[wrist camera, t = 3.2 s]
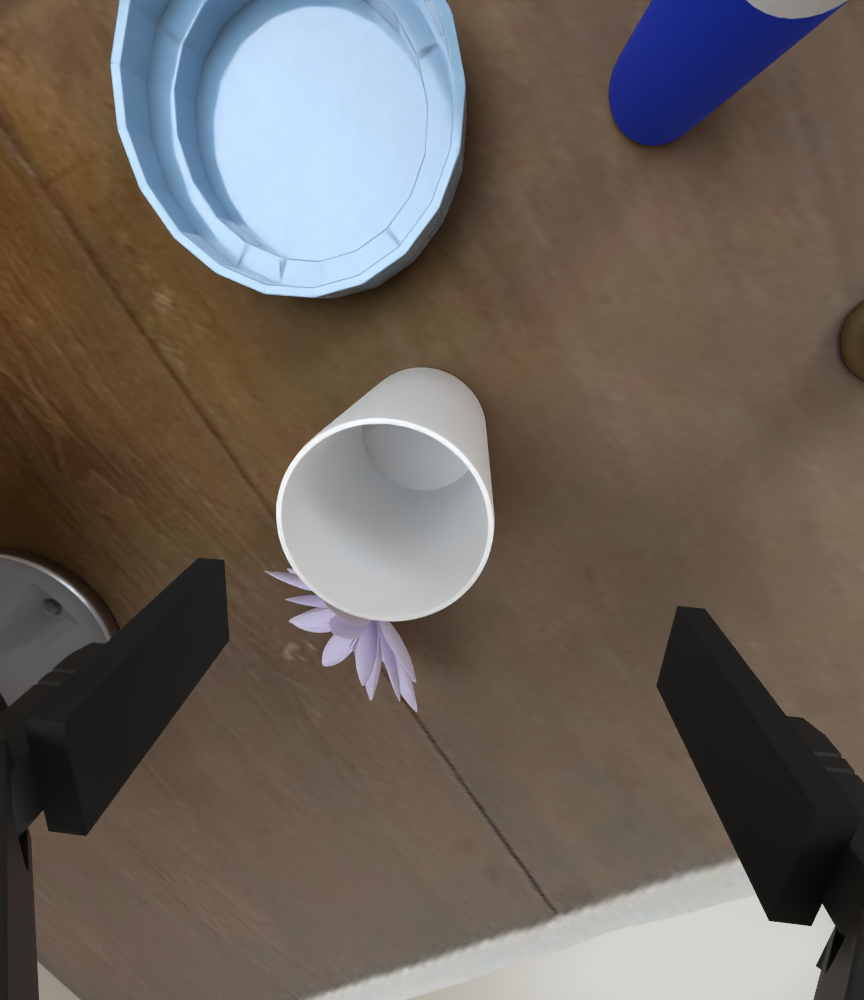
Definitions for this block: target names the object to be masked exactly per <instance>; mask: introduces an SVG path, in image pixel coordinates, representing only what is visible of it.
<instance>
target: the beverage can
mask: <svg viewBox="0 0 864 1000" xmlns="http://www.w3.org/2000/svg"><path fill="white" fill-rule="evenodd" d="M847 1H848V0H652V1H651V3H650V4H649V6H648V8H647V9H646V11H645V13H644V15H643V16H642V18H641V20H640V22H639V23H638V25H637V27H636V29H635V30H634V32H633V34H632V35H631V37H630V39H629V41H628V42H627V44H626V46H625V48H624V49H623V51H622V53H621V54H620V56H619V58H618V60H617V62H616V64H615V66H614V69H613V72H612V75H611V80H610V86H609V102H610V108H611V112H612V115H613V118H614V120H615V122H616V124H617V125H618V127H619V128H620V130H621V131H622V132H623V133H624V134H625V135H626V136H627V137H629V138H630V139H632V140H634V141H635V142H637V143H641V144H644V145H652V146H653V145H662V144H666V143H670V142H672V141H674V140H677V139H678V138H680V137H681V136H683V135H685V134H686V133H687V132H688V131H689V130H691V129H692V128H693V127H694V126H696V125H697V124H698V123H699V122H700V121H702V120H703V119H704V118H705V117H707V116H708V115H709V114H710V113H711V112H713V111H714V110H715V109H716V108H718V107H719V106H720V105H721V104H722V103H724V102H725V101H726V100H727V99H729V98H730V97H731V96H732V95H733V94H735V93H736V92H737V91H738V90H740V89H741V88H742V87H743V86H744V85H746V84H747V83H748V82H749V81H751V80H752V79H753V78H754V77H755V76H757V75H758V74H759V73H760V72H762V71H763V70H764V69H765V68H766V67H768V66H769V65H770V64H771V63H773V62H774V61H775V60H776V59H778V58H779V57H780V56H781V55H782V54H784V53H785V52H786V51H787V50H789V49H790V48H791V47H792V46H793V45H795V44H796V43H797V42H798V41H800V40H801V39H802V38H803V37H804V36H806V35H807V34H808V33H809V32H811V31H812V30H813V29H814V28H815V27H817V26H818V25H819V24H820V23H822V22H823V21H824V20H825V19H826V18H828V17H829V16H830V15H831V14H833V13H834V12H835V11H836V10H837V9H839V8H840V7H841V6H842V5H844V4H845V3H846V2H847Z"/></svg>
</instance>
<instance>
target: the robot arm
mask: <svg viewBox="0 0 864 1000" xmlns="http://www.w3.org/2000/svg"><path fill="white" fill-rule="evenodd" d="M228 641H229V628H228V613H227V597H226V581H225V566H224V560H217V559H207V558H198V559H197V560H196V561H195V562H193V563H192V564H191V565H190V566H189V567H188V568H187V569H186V570H185V571H184V572H183V573H181V574H180V575H179V576H178V577H177V578H176V579H175V580H174V581H173V582H172V583H171V584H170V585H168V586H167V587H166V588H165V589H164V590H163V591H162V592H161V593H160V594H159V595H158V596H156V597H155V598H154V599H153V600H152V601H151V602H150V603H149V604H148V605H147V606H146V607H145V608H143V609H142V610H141V611H140V612H139V613H138V614H137V615H136V616H135V617H134V618H133V619H131V620H130V621H129V622H128V623H127V624H126V625H125V626H124V627H123V628H122V629H121V630H119V631H118V629H117V627H116V624H115V622H114V620H113V618H112V616H111V614H110V613H109V611H108V609H107V608H106V606H105V605H104V604H103V602H102V601H101V600H100V598H99V597H98V596H97V595H96V594H95V593H94V592H93V590H92V589H91V588H90V587H88V586H87V585H86V584H85V583H84V582H83V581H82V580H81V579H79V578H78V577H77V576H76V575H74V574H73V573H71V572H70V571H69V570H67V569H65V568H64V567H62V566H60V565H59V564H57V563H55V562H53V561H51V560H49V559H46V558H44V557H41V556H39V555H36V554H33V553H30V552H26V551H21V550H16V549H7V548H0V1000H39V992H38V971H37V951H36V930H35V910H34V890H33V869H32V849H31V837H30V833H29V829H28V827H29V826H30V824H31V823H32V822H33V821H34V820H35V819H36V817H37V816H38V815H39V814H40V813H41V812H42V810H43V809H44V813H45V818H46V822H47V826H48V831H51V832H59V833H67V834H76V835H84V836H87V834H88V833H89V831H90V830H91V829H92V827H93V826H94V825H95V823H96V822H97V820H98V819H99V818H100V816H101V815H102V814H103V812H104V811H105V810H106V808H107V807H108V805H109V804H110V803H111V801H112V800H113V799H114V797H115V796H116V794H117V793H118V792H119V790H120V789H121V788H122V786H123V785H124V783H125V782H126V781H127V779H128V778H129V777H130V775H131V774H132V772H133V771H134V770H135V768H136V767H137V766H138V764H139V763H140V762H141V760H142V759H143V757H144V756H145V755H146V753H147V752H148V751H149V749H150V748H151V746H152V745H153V744H154V742H155V741H156V740H157V738H158V737H159V735H160V734H161V733H162V731H163V730H164V729H165V727H166V726H167V725H168V723H169V722H170V720H171V719H172V718H173V716H174V715H175V714H176V712H177V711H178V709H179V708H180V707H181V705H182V704H183V703H184V701H185V700H186V698H187V697H188V696H189V694H190V693H191V692H192V690H193V689H194V688H195V686H196V685H197V683H198V682H199V681H200V679H201V678H202V677H203V675H204V674H205V672H206V671H207V670H208V668H209V667H210V666H211V664H212V663H213V661H214V660H215V659H216V657H217V656H218V655H219V653H220V652H221V651H222V649H223V648H224V646H225V645H226V644H227V642H228ZM656 686H657V688H658V690H659V692H660V694H661V696H662V698H663V701H664V703H665V705H666V707H667V709H668V711H669V713H670V715H671V717H672V719H673V721H674V723H675V726H676V728H677V730H678V732H679V734H680V736H681V738H682V740H683V742H684V744H685V746H686V748H687V751H688V753H689V755H690V757H691V759H692V761H693V763H694V765H695V767H696V769H697V771H698V773H699V776H700V778H701V780H702V782H703V784H704V786H705V788H706V790H707V792H708V794H709V796H710V799H711V801H712V803H713V805H714V807H715V809H716V811H717V813H718V815H719V817H720V819H721V821H722V824H723V826H724V828H725V830H726V832H727V834H728V836H729V838H730V840H731V842H732V844H733V846H734V849H735V851H736V853H737V855H738V857H739V859H740V861H741V863H742V865H743V867H744V869H745V871H746V874H747V876H748V878H749V880H750V882H751V884H752V886H753V888H754V890H755V892H756V894H757V897H758V898H759V901H760V903H761V905H762V907H763V909H764V911H765V913H766V915H767V917H768V919H769V921H775V922H783V923H791V924H799V925H807V926H812V924H813V921H814V919H815V917H816V915H817V913H818V911H819V909H820V907H821V904H823V905H824V907H825V909H826V910H827V912H828V914H829V916H830V917H831V919H832V921H833V922H834V924H835V928H834V930H833V932H832V934H831V936H830V938H829V940H828V942H827V945H826V946H825V948H824V950H823V953H822V955H821V957H820V959H819V961H818V963H817V965H816V966H817V967H818V968H820V969H821V973H820V977H819V981H818V985H817V989H816V992H815V996H814V1000H864V782H863V781H862V780H861V779H860V777H859V776H858V775H855V774H854V770H853V769H852V768H851V766H850V765H849V764H848V763H847V761H846V760H845V759H842V758H841V754H840V753H839V752H838V750H837V749H836V748H835V747H834V745H833V744H832V743H831V742H830V741H829V739H828V738H827V737H826V736H825V735H824V734H823V733H821V732H820V731H819V730H818V729H816V728H815V727H814V726H812V725H811V724H810V723H809V722H807V721H806V720H805V719H803V718H800V717H790V716H786V715H785V714H784V712H783V711H782V710H781V708H780V707H779V706H778V704H777V703H776V702H775V700H774V699H773V698H772V696H771V695H770V694H769V692H768V691H767V690H766V689H765V687H764V686H763V685H762V683H761V682H760V681H759V679H758V678H757V677H756V675H755V674H754V673H753V671H752V670H751V669H750V667H749V666H748V665H747V664H746V662H745V661H744V660H743V658H742V657H741V656H740V654H739V653H738V652H737V650H736V649H735V648H734V646H733V645H732V644H731V643H730V641H729V640H728V639H727V637H726V636H725V635H724V633H723V632H722V631H721V629H720V628H719V627H718V625H717V624H716V623H715V621H714V620H713V619H712V618H711V616H710V615H709V614H708V612H707V611H706V610H705V609H702V608H692V607H682V606H677V609H676V613H675V617H674V621H673V625H672V628H671V632H670V636H669V640H668V644H667V647H666V651H665V655H664V659H663V663H662V666H661V670H660V674H659V678H658V682H657V685H656Z"/></svg>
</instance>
